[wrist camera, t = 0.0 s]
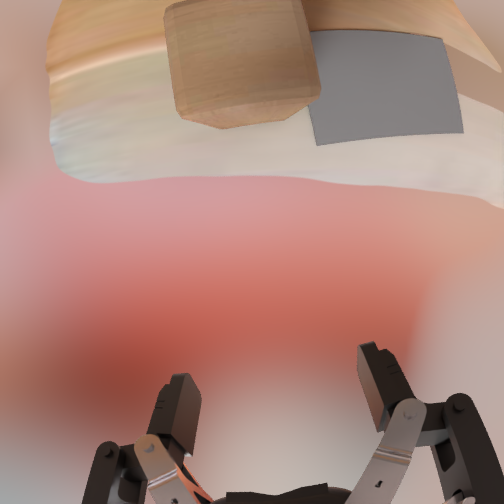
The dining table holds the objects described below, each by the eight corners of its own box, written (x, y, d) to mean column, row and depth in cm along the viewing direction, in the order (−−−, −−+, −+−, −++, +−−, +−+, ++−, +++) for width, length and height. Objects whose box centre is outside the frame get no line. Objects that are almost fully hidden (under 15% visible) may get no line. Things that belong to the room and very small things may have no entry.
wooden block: (205, 64, 31) (158, 3, 12) (278, 53, 30) (299, -19, 12) (216, 131, 34) (174, 122, 16) (290, 119, 34) (327, 99, 15)
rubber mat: (288, 34, 29) (288, 33, 28) (440, 40, 26) (442, 39, 25) (316, 145, 35) (317, 145, 35) (461, 133, 32) (463, 133, 32)
